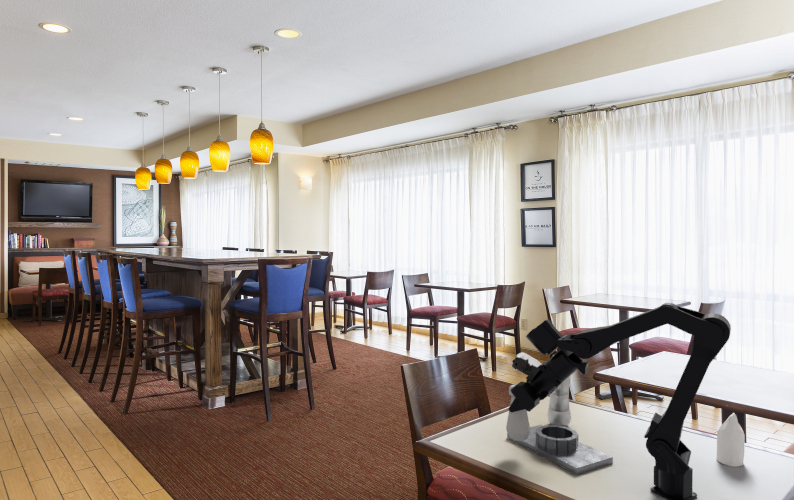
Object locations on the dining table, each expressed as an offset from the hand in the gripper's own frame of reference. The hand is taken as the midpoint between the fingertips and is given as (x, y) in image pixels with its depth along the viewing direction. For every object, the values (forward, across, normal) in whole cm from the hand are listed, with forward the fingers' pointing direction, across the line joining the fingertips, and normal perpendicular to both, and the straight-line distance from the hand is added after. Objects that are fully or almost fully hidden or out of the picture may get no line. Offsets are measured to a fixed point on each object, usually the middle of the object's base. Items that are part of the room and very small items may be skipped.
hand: (512, 408), depth 127 cm
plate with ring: (+3, -9, +14) cm, 17 cm away
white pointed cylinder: (-23, -24, +40) cm, 52 cm away
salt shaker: (+4, 0, +6) cm, 7 cm away
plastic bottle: (+6, -26, +11) cm, 29 cm away
